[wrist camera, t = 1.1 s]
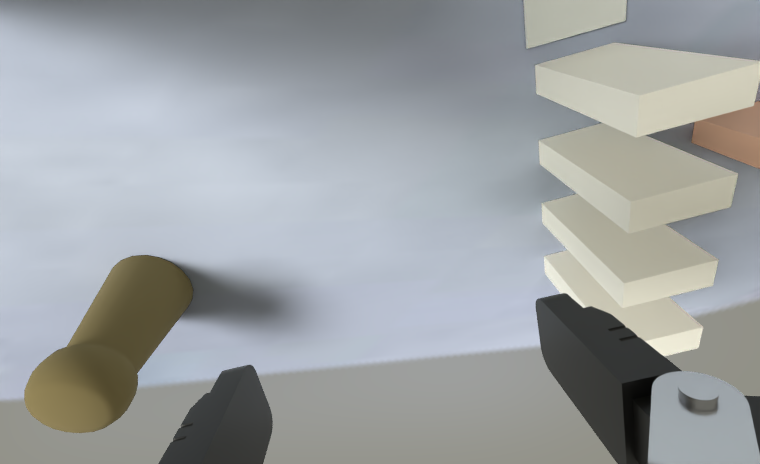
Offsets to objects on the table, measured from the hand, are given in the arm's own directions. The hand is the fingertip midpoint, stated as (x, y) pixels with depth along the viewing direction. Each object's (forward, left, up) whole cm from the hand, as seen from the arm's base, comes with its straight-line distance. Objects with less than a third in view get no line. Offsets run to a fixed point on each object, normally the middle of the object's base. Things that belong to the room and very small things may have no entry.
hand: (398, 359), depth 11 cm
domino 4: (+13, +14, -18) cm, 27 cm away
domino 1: (-2, +14, -18) cm, 23 cm away
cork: (+6, -19, -18) cm, 27 cm away
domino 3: (+8, +14, -18) cm, 25 cm away
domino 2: (+3, +14, -18) cm, 23 cm away
